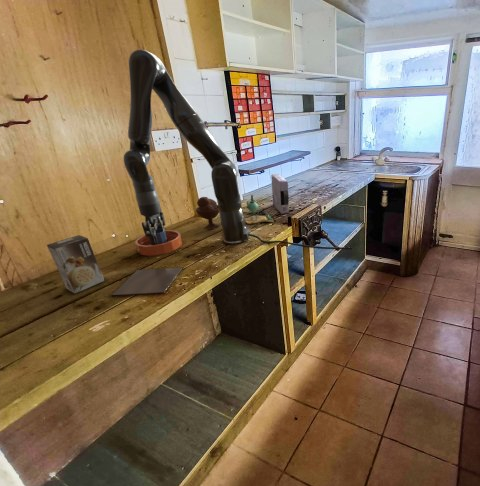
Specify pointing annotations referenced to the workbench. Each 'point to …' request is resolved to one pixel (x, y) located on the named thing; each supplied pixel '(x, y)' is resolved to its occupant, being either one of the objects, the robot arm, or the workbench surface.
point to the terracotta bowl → (148, 250)
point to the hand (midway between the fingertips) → (158, 240)
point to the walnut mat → (148, 282)
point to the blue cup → (160, 236)
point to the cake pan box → (280, 193)
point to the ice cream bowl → (207, 210)
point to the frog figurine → (255, 219)
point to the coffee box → (76, 263)
